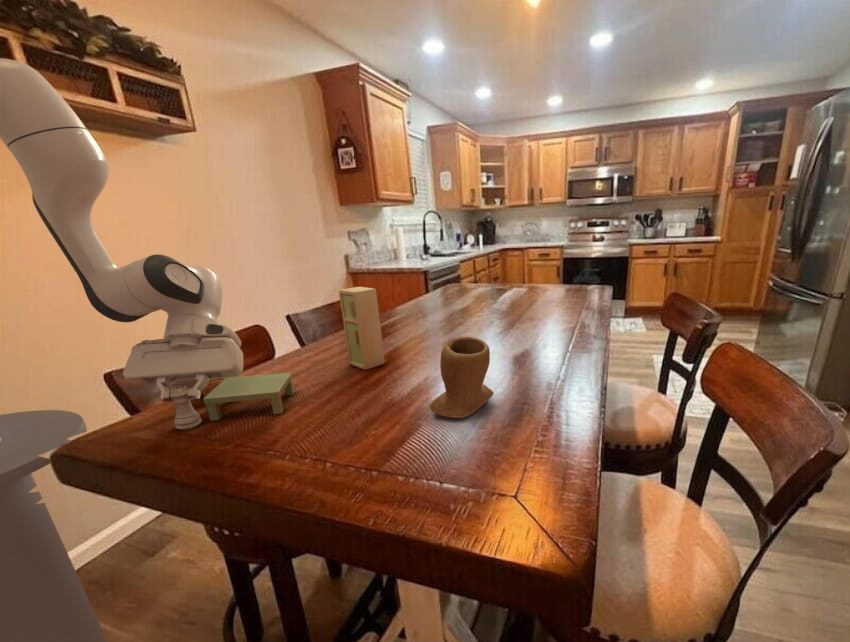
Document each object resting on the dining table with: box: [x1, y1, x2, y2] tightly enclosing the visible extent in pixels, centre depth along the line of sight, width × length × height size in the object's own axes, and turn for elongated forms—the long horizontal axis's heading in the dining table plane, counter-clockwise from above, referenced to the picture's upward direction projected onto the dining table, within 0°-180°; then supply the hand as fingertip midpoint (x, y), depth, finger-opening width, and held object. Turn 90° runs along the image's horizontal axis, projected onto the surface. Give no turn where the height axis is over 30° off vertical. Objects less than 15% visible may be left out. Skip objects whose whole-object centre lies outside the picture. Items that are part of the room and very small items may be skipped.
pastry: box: [201, 377, 230, 398], centre depth 95 cm, size 9×7×4 cm
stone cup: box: [428, 336, 495, 419], centre depth 83 cm, size 15×12×15 cm
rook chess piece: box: [170, 385, 203, 431], centre depth 79 cm, size 4×4×8 cm
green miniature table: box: [202, 371, 295, 422], centre depth 88 cm, size 14×12×5 cm
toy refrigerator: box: [338, 286, 386, 371], centre depth 110 cm, size 8×7×21 cm
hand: (180, 399), depth 78 cm, fingers closed on rook chess piece, 3 cm apart
